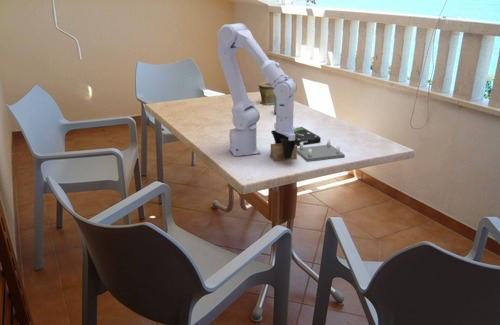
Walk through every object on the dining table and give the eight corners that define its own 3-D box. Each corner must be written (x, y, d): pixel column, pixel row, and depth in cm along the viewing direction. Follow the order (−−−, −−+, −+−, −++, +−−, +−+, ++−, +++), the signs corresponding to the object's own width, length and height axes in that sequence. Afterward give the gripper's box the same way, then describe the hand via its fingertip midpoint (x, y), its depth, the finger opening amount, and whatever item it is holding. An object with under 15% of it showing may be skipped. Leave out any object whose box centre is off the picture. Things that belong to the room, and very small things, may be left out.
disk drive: (320, 144, 158) (301, 132, 171) (321, 137, 157) (302, 126, 170) (297, 147, 155) (279, 135, 167) (297, 140, 153) (279, 129, 166)
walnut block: (274, 162, 140) (275, 148, 138) (270, 157, 144) (270, 144, 142) (296, 159, 142) (297, 145, 140) (291, 155, 146) (292, 141, 144)
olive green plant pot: (278, 106, 211) (278, 86, 207) (258, 106, 211) (258, 86, 207) (277, 100, 223) (277, 81, 219) (258, 100, 223) (258, 81, 219)
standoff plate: (307, 161, 140) (307, 151, 138) (294, 150, 150) (295, 141, 148) (344, 157, 143) (345, 147, 142) (330, 147, 153) (330, 138, 152)
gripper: (304, 120, 132) (302, 160, 137) (288, 109, 145) (286, 146, 150) (283, 122, 130) (282, 162, 135) (269, 111, 143) (268, 148, 148)
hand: (283, 154), depth 142 cm, fingers open, 7 cm apart
